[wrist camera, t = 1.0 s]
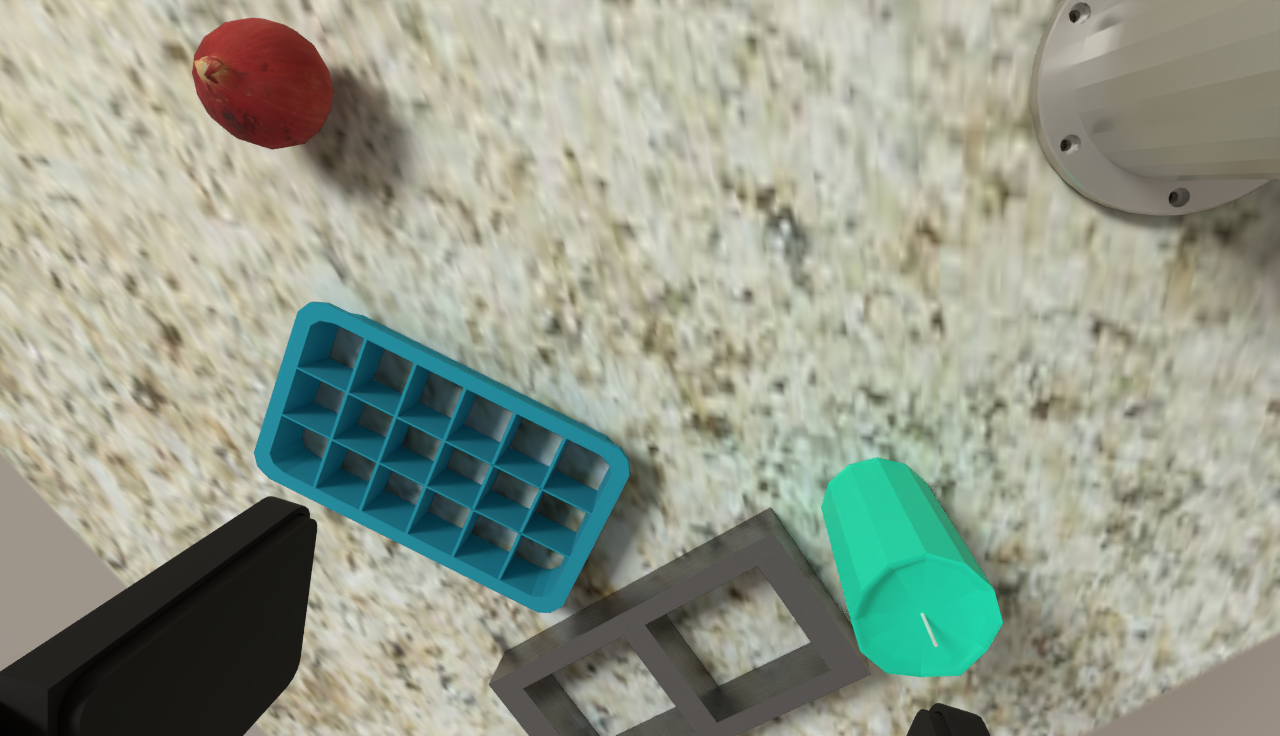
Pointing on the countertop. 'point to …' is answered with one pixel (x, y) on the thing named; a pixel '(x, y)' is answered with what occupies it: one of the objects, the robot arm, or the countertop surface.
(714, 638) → the countertop surface
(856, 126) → the countertop surface
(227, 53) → the onion
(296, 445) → the ice cube tray
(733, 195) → the countertop surface
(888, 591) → the candle
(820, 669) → the hollow block
